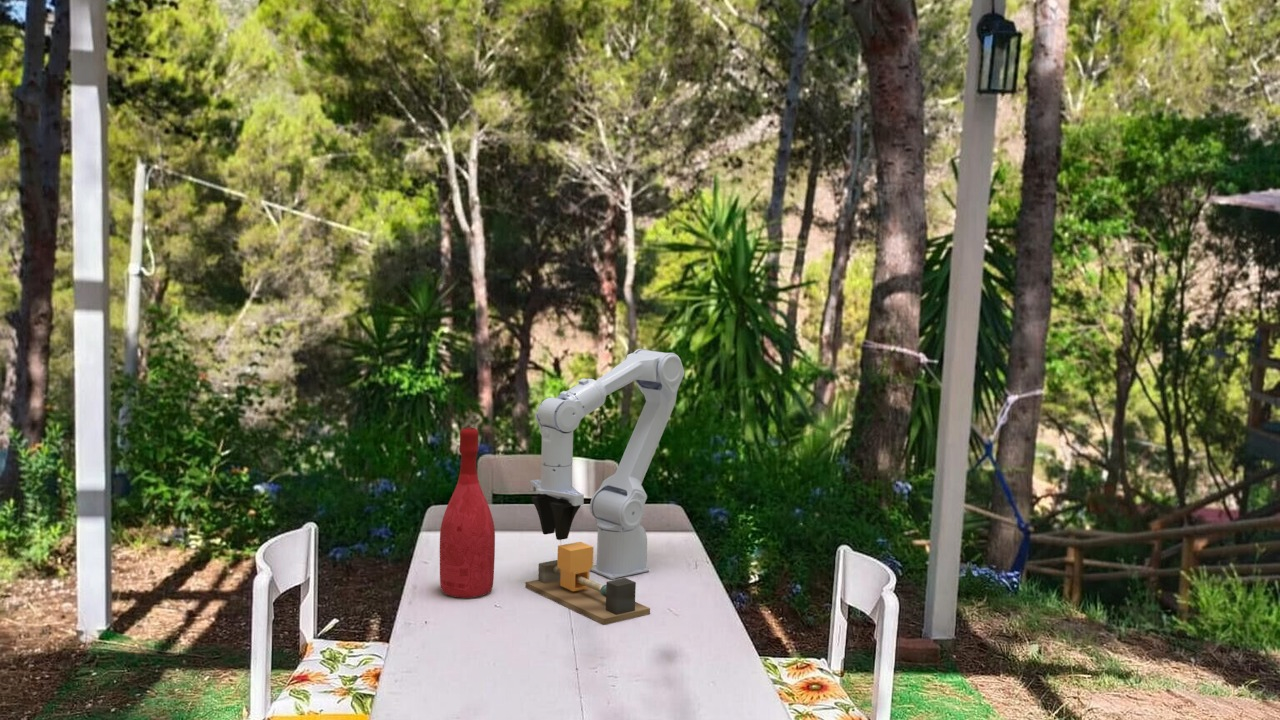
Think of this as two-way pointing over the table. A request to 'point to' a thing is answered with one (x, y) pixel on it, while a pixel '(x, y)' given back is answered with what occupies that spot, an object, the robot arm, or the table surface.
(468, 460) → the wine bottle
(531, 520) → the table surface
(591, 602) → the cord rig
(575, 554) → the orange notched block
